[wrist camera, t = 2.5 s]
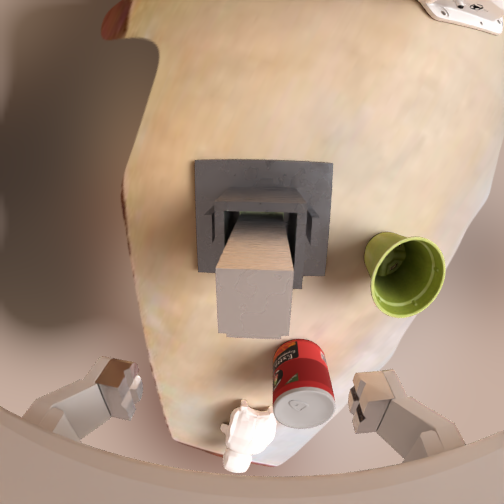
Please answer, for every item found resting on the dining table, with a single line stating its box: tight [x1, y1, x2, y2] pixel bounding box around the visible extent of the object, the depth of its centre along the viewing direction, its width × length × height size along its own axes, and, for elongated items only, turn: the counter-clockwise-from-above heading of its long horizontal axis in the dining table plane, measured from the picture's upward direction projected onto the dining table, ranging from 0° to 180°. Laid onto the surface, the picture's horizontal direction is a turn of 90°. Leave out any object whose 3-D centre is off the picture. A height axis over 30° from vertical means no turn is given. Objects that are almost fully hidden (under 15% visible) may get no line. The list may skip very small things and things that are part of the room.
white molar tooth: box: [220, 400, 277, 473], centre depth 45 cm, size 8×8×15 cm
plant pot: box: [364, 232, 445, 318], centre depth 33 cm, size 9×9×9 cm
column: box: [216, 211, 294, 339], centre depth 25 cm, size 4×5×20 cm
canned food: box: [273, 339, 335, 429], centre depth 38 cm, size 8×8×11 cm
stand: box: [195, 159, 333, 289], centre depth 30 cm, size 16×14×13 cm
